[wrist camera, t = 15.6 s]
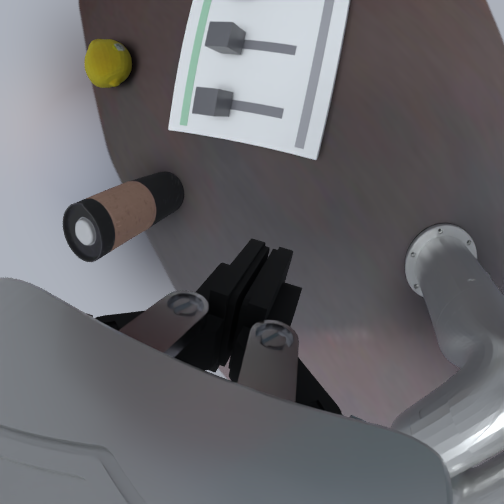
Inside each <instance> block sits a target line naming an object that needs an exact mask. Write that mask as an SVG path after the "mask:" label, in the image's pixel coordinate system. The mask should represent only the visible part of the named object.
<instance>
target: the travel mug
mask: <svg viewBox="0 0 504 504" xmlns="http://www.w3.org/2000/svg"><path fill="white" fill-rule="evenodd" d="M183 198H184V190H183V186H182V184H181V182H180V180H179V179H178V178H177V177H176V176H175V175H173V174H171V173H168V172H160V173H156V174H152V175H149V176H146V177H142V178H139V179H135V180H132V181H129V182H126V183H123V184H121V185H118V186H116V187H113V188H111V189H108V190H105V191H103V192H101V193H98V194H96V195H93V196H91V197H89V198H86V199H84V200H82V201H79V202H77V203H74V204H71V205H70V206H69V207H68V208H67V209H66V211H65V213H64V217H63V230H64V235H65V238H66V240H67V243H68V245H69V247H70V248H71V250H72V251H73V252H74V253H75V254H76V255H77V256H78V257H79V258H80V259H82V260H84V261H86V262H93V261H96V260H98V259H99V258H101V257H103V256H104V255H106V254H107V253H109V252H111V251H112V250H114V249H115V248H117V247H119V246H120V245H122V244H123V243H125V242H127V241H128V240H130V239H132V238H133V237H135V236H137V235H138V234H140V233H142V232H143V231H145V230H147V229H148V228H150V227H151V226H153V225H154V224H156V223H157V222H159V221H160V220H162V219H163V218H165V217H166V216H168V215H170V214H171V213H173V212H174V211H175V210H177V209H178V208H179V207H180V206H181V204H182V202H183Z"/></svg>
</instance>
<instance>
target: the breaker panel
mask: <svg viewBox="0 0 504 504" xmlns="http://www.w3.org/2000/svg"><path fill="white" fill-rule="evenodd" d="M349 6H350V0H193V2H192V6H191V10H190V14H189V19H188V23H187V27H186V32H185V36H184V41H183V45H182V50H181V55H180V60H179V66H178V71H177V77H176V82H175V88H174V94H173V101H172V107H171V114H170V121H169V129H168V130H173V131H180V132H187V133H193V134H199V135H205V136H211V137H216V138H222V139H227V140H232V141H237V142H242V143H247V144H252V145H256V146H261V147H265V148H270V149H274V150H278V151H282V152H287V153H291V154H295V155H298V156H302V157H306V158H310V159H314V160H317V158H318V156H319V151H320V147H321V143H322V139H323V134H324V130H325V126H326V121H327V117H328V112H329V108H330V103H331V99H332V94H333V89H334V85H335V80H336V75H337V70H338V65H339V60H340V55H341V50H342V45H343V40H344V34H345V29H346V23H347V18H348V12H349ZM210 21H213V22H233V23H235V24H236V25H237V26H238V27H240V28H241V29H242V30H244V31H245V32H246V34H245V39H244V43H243V48H242V53H241V55H236V54H223V53H219V52H217V51H214V50H212V49H210V48H208V47H206V46H205V41H206V37H207V32H208V27H209V23H210ZM196 87H206V88H216V89H222V90H226V91H230V92H233V97H232V102H231V108H230V113H229V117H219V116H207V115H200V114H193V113H192V109H193V103H194V97H195V91H196Z"/></svg>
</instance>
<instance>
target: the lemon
mask: <svg viewBox="0 0 504 504" xmlns="http://www.w3.org/2000/svg"><path fill="white" fill-rule="evenodd" d="M131 68H132V60H131V56H130V54H129V52H128V50H127V49H126V48H125V47H124V45H122V44H121V43H119V42H117V41H115V40H111V39H106V40H103V39H96V40H93V41H92V42H91V43H90V45H89V48H88V51H87V53H86V56H85V70H86V73H87V75H88V77H89V79H90V80H91V82H92V83H93V84H95V85H96V86H98V87H101V88H109V87H117V86H118V85H119V84H120V83H121V82H123V81H124V80H125V79H126V78H127V77H128V76H129V74H130V72H131Z"/></svg>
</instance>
